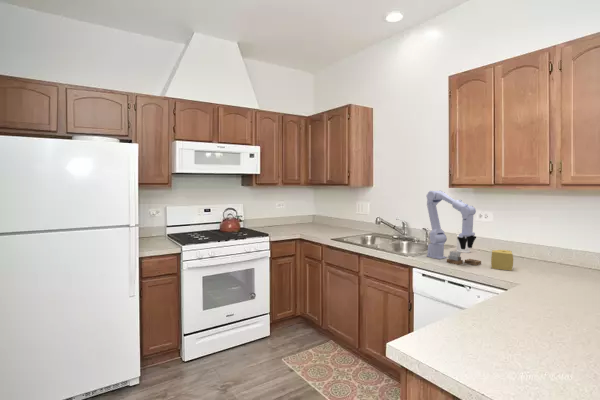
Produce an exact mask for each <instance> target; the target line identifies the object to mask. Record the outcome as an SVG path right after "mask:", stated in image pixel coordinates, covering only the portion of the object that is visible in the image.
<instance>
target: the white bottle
mask: <svg viewBox="0 0 600 400" xmlns="http://www.w3.org/2000/svg"><path fill="white" fill-rule="evenodd" d="M460 229H461V227H459V228H458V229H457V233H458V234H457V235H456V249H455V251H456V252H460V253H461V252H462V253H463V254H469V253H471V248H468V246H467V242H466V248H465V249H461V246H460V242H459V240H458V237H459V234H461V233H462V232H459V230H460ZM465 238H466V237H465Z"/></svg>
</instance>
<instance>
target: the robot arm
mask: <svg viewBox="0 0 600 400" xmlns="http://www.w3.org/2000/svg"><path fill="white" fill-rule="evenodd" d="M442 200H443V201H444V202H446V203H448V204H450V205H452V206H451V207H452V209H455V210H456V211H458V212H460V214H461V218H462V221H461V222H462V224H461V225H462V226H461V232H460V233H461V234H460V233H458V235H459V237H458V240H459V242H460V246H461V249H465V248H466V242H467V246H468V248H470V249H472V248H473V246H474V242H475V240H476V239H477V236H476V232H473V230H474V215H475V214H476V212H477V210H476V208H475V207H474V206H473V205H469V204H468V203H465V202H463V200H461V199H454V198H453V197H451V196H450V195H448V193H446V192H444V191H443V190H429V191H428V192H427V194H426V206H427V213H428V218H429V221H430V226H431V231H430V232H429V241H430V243H428V246H427V257H428V258H432V259H437V260H441V259H447V256H445V252H444V251H445V250H444V249H445V244H446V242H447V239H448V238H447V235H446V234H445V231H444V230H443V228H441V222H440V218H439V214H438V209H437V205H438V204H439V203H440V202H441V201H442ZM465 237H466V238H465Z"/></svg>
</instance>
